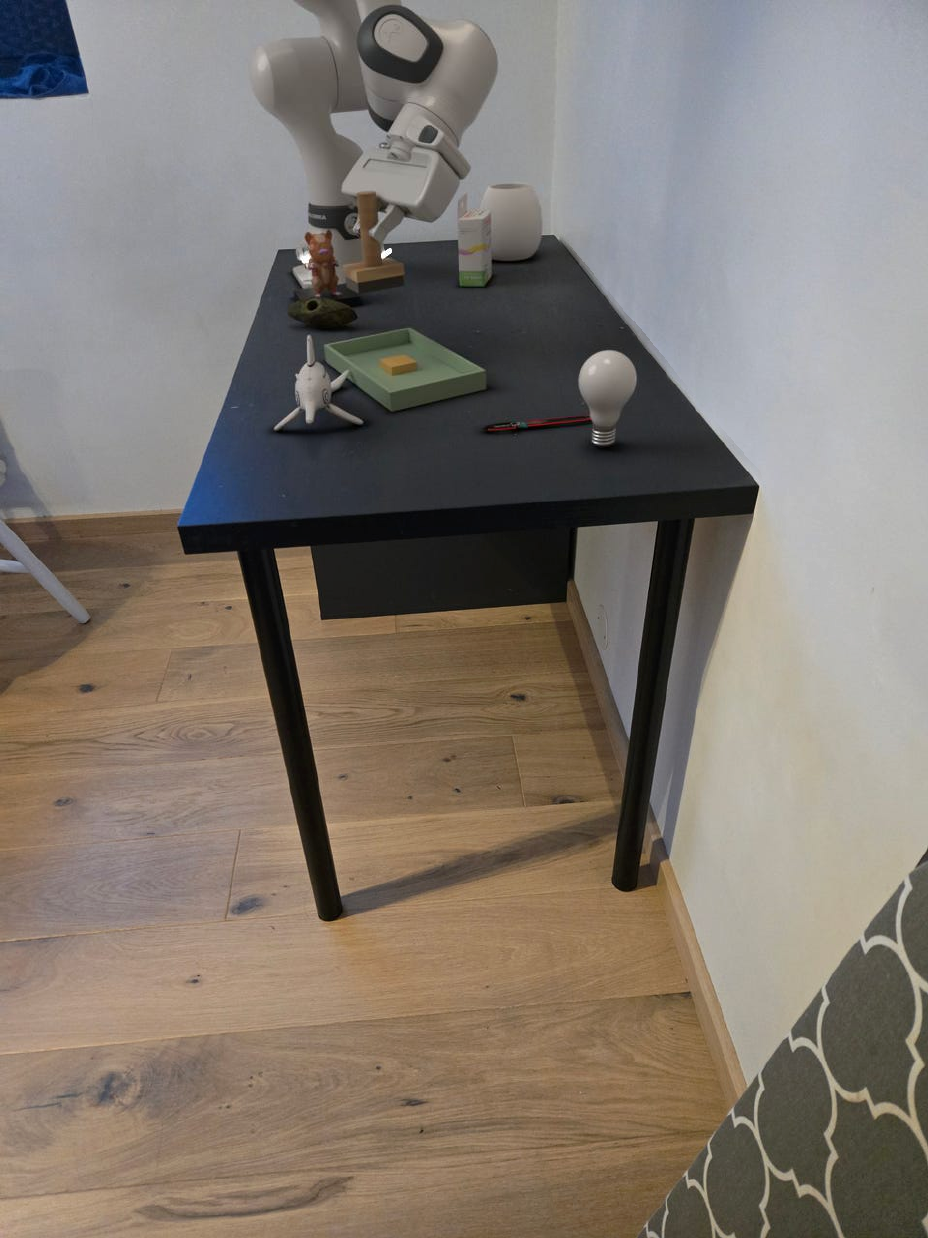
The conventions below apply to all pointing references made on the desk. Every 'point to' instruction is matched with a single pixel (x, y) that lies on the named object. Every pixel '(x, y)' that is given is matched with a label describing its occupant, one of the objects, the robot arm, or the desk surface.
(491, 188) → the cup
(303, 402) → the dolphin figurine
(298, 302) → the decorative stone
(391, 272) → the wooden peg on base
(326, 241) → the figurine
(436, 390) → the tray
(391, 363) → the orange block
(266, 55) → the robot arm
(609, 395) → the lightbulb
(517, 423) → the pen
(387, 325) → the desk surface
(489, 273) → the ink box
